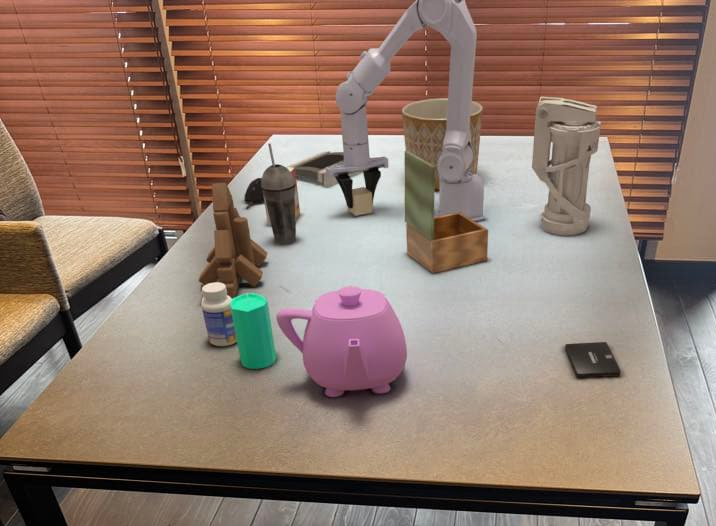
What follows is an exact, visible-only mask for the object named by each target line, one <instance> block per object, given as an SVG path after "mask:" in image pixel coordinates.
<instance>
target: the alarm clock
mask: <svg viewBox="0 0 716 526" xmlns="http://www.w3.org/2000/svg"><path fill="white" fill-rule="evenodd" d="M342 162H344V152H343V151H334V152H333V151H332V152H331V151H322V152H319V153H316V154H315V155H312V156H310V157H307V158H304V159H303V160H300V161H297V162H294V163H292V164H290V165H288V166H286V167H294V168H295V172H296V177H304V178H308V179H311V180H315V181H317V183H321V184H323V187H326V188H329V187H331V186H334V185H336V184H339V183H338V182H337V180H336V178H335V177H334V178H328V177H327V176H326V167H329V166H333V165H336V164H339V163H342ZM361 173H363V171H362V172H356V173H351V174H348V175H349V176H350V178H351V177H354V176H356V175H358V174H361Z"/></svg>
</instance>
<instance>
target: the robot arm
mask: <svg viewBox="0 0 716 526" xmlns="http://www.w3.org/2000/svg"><path fill="white" fill-rule="evenodd" d="M426 27H429V28H431V29H433V30H435V31H436V32H438V33H440V34H441V35H442V37H444V39H445V40H446V41H447V42H448V43H449V44H450V55H449V74H448V75H449V76H448V89H447V91H448V93H447V98H448V107H447V123H446V133H445V138H444V142H443V150H442V154H441V156H440V157H439V159H438V163H437V169H438V172H439V174H440V176H439V178H440V190H439V212H436V213H434V217H439V216H444V215H448V214H453V213H458V212H461V213H462V214H464V215H466V216H467V217H469V218H470V219H472V220H474V221H475V222H478V221H483V220H485V219H486V218H485V216H484V195H485V190H484V189H485V187H484V182H483V180H482V178H481V176H480V175H479V174H478V173H477V174H472V173H471V170H470V168H469V166H470V165H471V164H472V162H473V159H474V150H473V147H472V144H471V132H470V116H471V103H472V101H473V87H474V75H475V64H476V63H475V62H476V51H477V49H476V48H477V38H478V37H477V36H478V34H477V32H478V31H477V28H476V26H475V23H474V20H473V18H472V15H471V13H470V10H469V9H468V6H467V3H466V0H414V2H413V3H412V4H411V5H410V6H409V7H408V8H407V9H406V10H405V11H404V13H403V14H402V16H401V17H400V18H399V20H398V21H397V22H396V24H395V25H394V27H393V28H392V30H391V31H390V32H389V34H388V35H387V36H386V38H385V39H384V41H383V42H382V43H381V45H380V46H379V47H378V48H377V47H376V48H373V47H372V48H369V49H368V50H364V51H362V52H361V54H360V56H359V58H360V61H359V62H358V64H357V65H356V66H355V68H354V69H353V70H350V71H348V72H347V73H346V77H347V80H346V81H344V82H341V83H340V84H338V86H337V87H338V88H337V90H336V91H335V94H334V95H335V96H334V99H335V103H336V105H337V108H338V109H339V111H340V126H341V127H340V129H341V139H342V152H344V162H342V163H339V164H336V165H333V166H329V167H326V176H327V177H328V178H334V177H335V178H336V180H337V182H338V183H337V184H338V185H339V188H340V189H341V192H342V194H343V197H344V200H345V203H346V207H347V208H348V207H349V208H350V209H351V208H353V198H352V189H353V183H354V180H353V179H352V178H351V177H350V176H349V175H348V174H351V173H356V172H361V173H363V178H364V179H363V180H364V185H365V186H364V187H365V188H366V189H368V190H369V191H371V192H372V204H374V199H375V193H376V190H377V186H378V183H379V181H380V179H381V177H382V171H381V170H379V169H382V168H383V169H387V168H389V158H388V157H386V156H376V157H370V143H369V141H370V140H369V127H368V126H369V125H368V117H367V116H368V115H367V114H368V113H367V103H368V102H369V100H370V96H372V94H374V92H375V91H376V90H377V88H378V87H379V86H380V84H381V83H383V81H384V80H385V79H386V77H387V76H388V75H389V73H390V72H391V70H392V69H391V60H392V59H393V58H394V57H395V55H396V54H397V53H398V52H399V51H400V50H401V48H402V47H403V46H404V45H405V44H406V42H408V40H409V39H410V38H411V36H412V35H413V34H414V33H415V32H417V31H420V30H423V29H425V28H426ZM362 171H363V172H362Z"/></svg>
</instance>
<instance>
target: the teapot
mask: <svg viewBox="0 0 716 526" xmlns="http://www.w3.org/2000/svg"><path fill="white" fill-rule="evenodd" d="M275 318H276V323H277V325H278V327H279V329H280V330H281V332H282V334H283V335H284V336H285V337H286V338H287V339H288V340H289V341H290V342H291V343H292V345H293V346H294V347H295V348H296V349H298V351H299V352H300V353H301V354H302V363H303V366H304V369H305V371H306V373H307V375H308V376H309V377H310V378H311V379H312V380H313V381H314V382H315V383H316V384H317V385H319V386H321V387H323V388H325V391H324V394H325V395H326V396H328V397H331V398H337V397H340V396H342V395H343V394H344V393H345V391H359V390H361V391H362V390H367V389H371V391H372V392H374V393H376V394H385V393H388V392H390V390H391V386H390V383H392V382H394V381H395V380H396V379H397V378H398V377H399V376H400V374H401V373H402V371H403V369H404V368H405V367H406V363H407V358H408V348H407V341H406V337H405V333H404V329H403V327H402V324H401V322H400V320H399V317H398V315H397V314H396V312H395V310H394V308H393V306H392V304H391V303H390V302H389V300H388V298H387V297H386V296H385V294H384V293H382V292H380V291H379V290H375V289H369V288H360V287H358V286H355V285H348V286H343V287H341V288H339V289H338V290H334V291H329V292H326V293H323V294H321V295H320V296H319V297H317V298H316V300H315V301H314V303H313V306H312V309H311V310H308V309H302V308H292V307H291V308H282V309H281V310H279V311H277V313H276V317H275ZM297 319H298V320H299V319H300V320H307V321H306V325H305V328H304V333H303V338H302V339H301V337H300V336H299V335H298V333H297V331H296V330H295V328H294V325H293V323H292V321H293V320H297Z"/></svg>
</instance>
